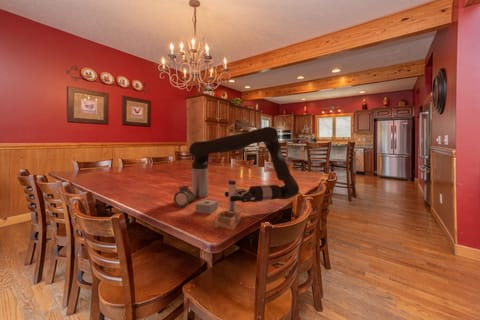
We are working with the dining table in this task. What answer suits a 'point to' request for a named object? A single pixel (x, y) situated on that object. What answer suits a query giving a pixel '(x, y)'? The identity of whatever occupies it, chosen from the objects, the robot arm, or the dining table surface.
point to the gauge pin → (232, 193)
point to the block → (206, 206)
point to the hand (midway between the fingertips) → (227, 196)
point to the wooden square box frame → (227, 219)
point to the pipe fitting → (183, 196)
